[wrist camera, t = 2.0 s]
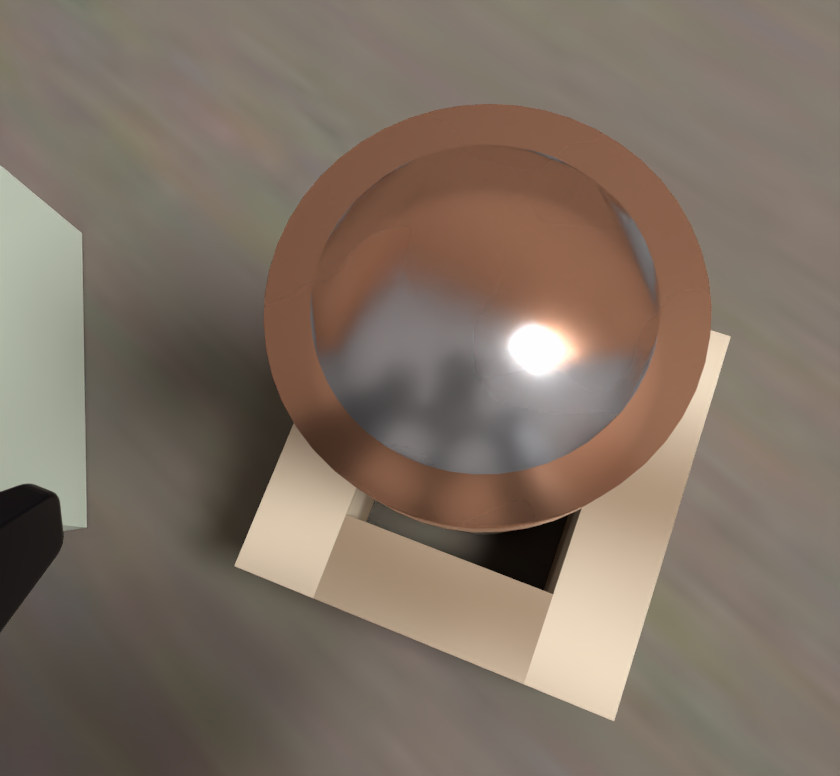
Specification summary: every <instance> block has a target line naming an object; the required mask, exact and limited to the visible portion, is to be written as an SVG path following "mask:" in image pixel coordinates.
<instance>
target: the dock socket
mask: <svg viewBox="0 0 840 776" xmlns="http://www.w3.org/2000/svg"><path fill="white" fill-rule="evenodd" d="M27 483H30V484H35V485H38V486H40V487H42V488H45V489H47V490H50V491H52V492H54V493H56V494H57V496H58V497H59V500H60V506H61V515H62V524H63V531H66V530H73V529H81V528H87V500H86V440H85V380H84V320H83V260H82V233H81V232H80V231H78V230H77V229H76V228H75V227H74V226H72V225H71V224H70V223H69V222H68V221H66V220H65V219H64V218H63V217H62V216H60V215H59V214H58V213H57V212H56V211H54V210H53V209H52V208H51V207H50V206H48V205H47V204H46V203H45V202H44V201H42V200H41V199H40V198H39V197H38V196H36V195H35V194H34V193H33V192H32V191H30V190H29V189H28V188H27V187H26V186H24V185H23V184H22V183H21V182H20V181H18V180H17V179H16V178H15V177H14V176H12V175H11V174H10V173H9V172H8V171H6V170H5V169H4V168H3V167H2V166H0V492H1V491H4V490H6V489H9V488H12V487H15V486H18V485H21V484H27Z"/></svg>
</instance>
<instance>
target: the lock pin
mask: <svg viewBox="0 0 840 776" xmlns="http://www.w3.org/2000/svg"><path fill="white" fill-rule="evenodd" d="M264 332H265V342H266V351H267V355H268V359H269V364H270V368H271V372H272V376H273V379H274V382H275V384H276V387H277V389H278V392H279V395H280V397H281V400H282V402H283V404H284V406H285V408H286V410H287V411H288V413H289V415H290V417H291V419H292V420H293V422H294V424H295V426H296V427H297V429H298V430H299V431H300V433H301V434H302V435H303V437H304V438H305V439H306V441H307V442H308V443H309V445H310V446H311V447H312V449H313V450H314V451H315V452H316V453H317V454H318V455H319V456H320V457H321V458H322V459H323V460H324V461H325V462H326V463H327V464H328V465H329V466H330V467H331V468H332V469H333V470H334V471H335V472H336V473H338V474H339V475H340V476H342V477H343V478H344V479H346V480H347V481H348V482H349V483H351V484H352V485H353V486H355V487H356V488H357V489H359V490H360V491H362V492H364V493H365V494H367V495H368V496H370V497H372V498H373V499H375V500H376V501H378V502H380V503H382V504H383V505H385V506H387V507H389V508H390V509H392V510H394V511H396V512H397V513H400V514H402V515H405V516H407V517H410V518H412V519H415V520H417V521H420V522H422V523H426V524H430V525H434V526H438V527H441V528H445V529H451V530H459V531H464V532H468V533H472V534H478V535H493V534H500V533H504V532H507V531H512V530H519V529H526V528H531V527H534V526H538V525H541V524H545V523H548V522H552V521H555V520H557V519H559V518H562V517H564V516H566V515H569V514H571V513H573V512H575V511H578V510H580V509H581V508H583V507H585V506H586V505H588V504H590V503H591V502H593V501H595V500H596V499H598V498H599V497H601V496H603V495H604V494H606V493H607V492H609V491H610V490H612V489H614V488H615V487H617V486H618V485H620V484H621V483H622V482H624V481H625V480H626V479H627V478H629V477H630V476H631V475H632V474H634V473H635V472H636V471H637V470H638V469H640V468H641V467H642V466H643V465H645V464H646V462H647V461H648V460H649V459H650V458H651V457H652V456H653V455H654V454H655V453H656V452H657V451H658V449H659V448H660V447H661V446H662V445H663V444H664V443H665V442H666V441H667V439H668V438H669V436H670V435H671V433H672V432H673V430H674V429H675V428H676V426H677V425H678V423H679V422H680V420H681V419H682V417H683V416H684V414H685V412H686V410H687V408H688V406H689V404H690V402H691V400H692V398H693V396H694V394H695V392H696V389H697V386H698V383H699V380H700V377H701V374H702V371H703V368H704V365H705V362H706V356H707V351H708V345H709V340H710V333H711V297H710V287H709V278H708V274H707V270H706V266H705V262H704V258H703V254H702V251H701V248H700V246H699V243H698V241H697V238H696V236H695V233H694V231H693V228H692V226H691V224H690V222H689V220H688V219H687V217H686V215H685V214H684V212H683V210H682V208H681V207H680V205H679V203H678V201H677V200H676V199H675V197H674V196H673V195H672V194H671V192H670V191H669V190H668V188H667V187H666V186H665V184H664V183H663V182H662V181H661V179H660V178H659V177H658V176H657V175H656V174H655V173H654V172H653V171H652V170H651V169H650V168H649V167H648V166H647V165H646V164H645V163H644V162H643V161H642V160H641V159H639V158H638V157H637V156H635V155H634V154H633V153H632V152H630V151H629V150H628V149H626V148H625V147H624V146H622V145H621V144H620V143H618V142H617V141H615V140H613V139H612V138H610V137H608V136H606V135H605V134H603V133H601V132H600V131H598V130H596V129H594V128H592V127H590V126H587V125H585V124H583V123H580V122H578V121H576V120H573V119H571V118H568V117H565V116H562V115H558V114H555V113H551V112H548V111H545V110H540V109H534V108H528V107H522V106H516V105H498V104H481V105H464V106H457V107H452V108H446V109H440V110H435V111H432V112H428V113H425V114H421V115H418V116H415V117H411V118H408V119H406V120H404V121H401V122H399V123H397V124H394V125H392V126H390V127H387V128H385V129H383V130H381V131H380V132H378V133H376V134H374V135H373V136H371V137H369V138H368V139H366V140H364V141H362V142H361V143H359V144H358V145H357V146H355V147H354V148H353V149H351V150H350V151H349V152H347V153H346V154H345V155H343V156H342V157H340V158H339V159H338V160H337V161H336V162H335V163H334V164H333V165H332V166H331V167H330V168H329V169H328V170H327V171H326V172H324V173H323V174H322V175H321V176H320V177H319V179H318V180H317V181H316V182H315V183H314V185H313V186H312V187H311V188H310V190H309V191H308V192H307V193H306V194H305V196H304V197H303V198H302V200H301V201H300V203H299V205H298V206H297V208H296V209H295V211H294V212H293V214H292V216H291V217H290V219H289V221H288V223H287V225H286V227H285V229H284V231H283V233H282V236H281V238H280V240H279V242H278V244H277V247H276V250H275V254H274V257H273V260H272V263H271V266H270V269H269V275H268V280H267V286H266V292H265V303H264Z"/></svg>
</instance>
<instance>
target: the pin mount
mask: <svg viewBox="0 0 840 776" xmlns="http://www.w3.org/2000/svg"><path fill="white" fill-rule="evenodd" d="M729 340H730V336H727V335H724V334H721V333H718V332H715V331H711V333H710V340H709V345H708V351H707V356H706V362H705V365H704V368H703V371H702V374H701V377H700V380H699V383H698V386H697V389H696V392H695V394H694V396H693V398H692V400H691V402H690V404H689V406H688V408H687V410H686V412H685V414H684V416H683V417H682V419H681V420H680V422H679V423H678V425H677V426H676V428H675V429H674V430H673V432H672V433H671V435H670V436H669V438H668V439H667V441H666V442H665V443H664V444H663V445H662V446H661V447H660V448H659V449H658V451H657V452H656V453H655V454H654V455H653V456H652V457H651V458H650V459H649V460H648V461H647V462H646V464H645V465H643V466H642V467H641V468H640V469H638V470H637V471H636V472H635V473H634V474H632V475H631V476H630V477H629V478H627V479H626V480H625V481H624V482H622V483H621V484H620V485H618V486H617V487H615V488H614V489H612V490H610V491H609V492H607V493H606V494H604V495H603V496H601V497H599V498H598V499H596V500H595V501H593V502H591V503H590V504H588V505H586V506H585V507H583V508H581V509H580V510H578V511H575V512H573V513H571V514H569V515H568V518H567V521H566V524H565V527H564V530H563V533H562V536H561V539H560V542H559V545H558V548H557V551H556V554H555V557H554V560H553V563H552V566H551V569H550V572H549V575H548V578H547V581H546V584H545V587H544V590H541V589H538V588H535V587H533V586H530V585H528V584H525V583H522V582H520V581H517V580H515V579H512V578H509V577H507V576H504V575H502V574H499V573H496V572H494V571H491V570H489V569H486V568H484V567H481V566H478V565H476V564H473V563H471V562H468V561H465V560H463V559H460V558H458V557H455V556H452V555H450V554H447V553H445V552H442V551H439V550H437V549H434V548H432V547H429V546H426V545H424V544H421V543H419V542H416V541H413V540H411V539H408V538H406V537H403V536H400V535H398V534H395V533H393V532H390V531H388V530H385V529H382V528H380V527H377V526H375V525H372V524H369V523H367V522H366V521H367V519H368V516H369V513H370V511H371V508H372V506H373V503H374V501H375V499H373V498H372V497H370V496H368V495H367V494H365V493H364V492H362V491H360V490H359V489H357V488H356V487H355V486H353V485H352V484H351V483H349V482H348V481H347V480H346V479H344V478H343V477H342V476H340V475H339V474H338V473H336V472H335V471H334V470H333V469H332V468H331V467H330V466H329V465H328V464H327V463H326V462H325V461H324V460H323V459H322V458H321V457H320V456H319V455H318V454H317V453H316V452H315V451H314V450H313V449H312V447H311V446H310V445H309V443H308V442H307V441H306V439H305V438H304V437H303V435H302V434H301V433H300V431H299V430H298V429H297V427H296V426H295V424H293V426H292V429H291V431H290V434H289V436H288V438H287V441H286V443H285V446H284V448H283V450H282V453H281V455H280V458H279V460H278V462H277V465H276V467H275V470H274V472H273V474H272V477H271V479H270V482H269V484H268V486H267V489H266V491H265V494H264V496H263V498H262V501H261V503H260V506H259V508H258V510H257V513H256V515H255V518H254V520H253V522H252V525H251V527H250V530H249V532H248V534H247V537H246V539H245V542H244V544H243V546H242V549H241V551H240V554H239V556H238V558H237V561H236V563H235V567H238V568H240V569H243V570H245V571H248V572H250V573H253V574H255V575H257V576H260V577H262V578H265V579H267V580H270V581H272V582H275V583H277V584H279V585H282V586H284V587H287V588H289V589H292V590H294V591H297V592H299V593H301V594H304V595H306V596H309V597H311V598H314V599H316V600H319V601H321V602H324V603H326V604H328V605H331V606H333V607H336V608H338V609H341V610H343V611H346V612H348V613H350V614H353V615H355V616H358V617H360V618H363V619H365V620H368V621H370V622H373V623H375V624H377V625H380V626H382V627H385V628H387V629H390V630H392V631H395V632H397V633H399V634H402V635H404V636H407V637H409V638H412V639H414V640H417V641H419V642H422V643H424V644H426V645H429V646H431V647H434V648H436V649H439V650H441V651H444V652H446V653H448V654H451V655H453V656H456V657H458V658H461V659H463V660H466V661H468V662H470V663H473V664H475V665H478V666H480V667H483V668H485V669H488V670H490V671H493V672H495V673H497V674H500V675H502V676H505V677H507V678H510V679H512V680H515V681H517V682H519V683H522V684H524V685H527V686H529V687H532V688H534V689H537V690H539V691H542V692H544V693H546V694H549V695H551V696H554V697H556V698H559V699H561V700H564V701H566V702H568V703H571V704H573V705H576V706H578V707H581V708H583V709H586V710H588V711H590V712H593V713H595V714H598V715H600V716H603V717H605V718H608V719H610V720H613V721H614V719H615V716H616V713H617V710H618V706H619V703H620V700H621V696H622V693H623V690H624V686H625V683H626V680H627V677H628V673H629V670H630V667H631V663H632V660H633V657H634V654H635V650H636V647H637V644H638V640H639V637H640V634H641V630H642V627H643V624H644V621H645V617H646V614H647V611H648V607H649V604H650V601H651V598H652V594H653V591H654V588H655V584H656V581H657V578H658V574H659V571H660V568H661V565H662V561H663V558H664V555H665V551H666V548H667V545H668V541H669V538H670V535H671V532H672V528H673V525H674V522H675V518H676V515H677V512H678V509H679V505H680V502H681V499H682V495H683V492H684V489H685V485H686V482H687V479H688V476H689V472H690V469H691V466H692V462H693V459H694V456H695V453H696V449H697V446H698V443H699V439H700V436H701V433H702V429H703V426H704V423H705V420H706V416H707V413H708V410H709V406H710V403H711V400H712V396H713V393H714V390H715V387H716V383H717V380H718V377H719V373H720V370H721V367H722V364H723V360H724V357H725V354H726V350H727V347H728V344H729Z"/></svg>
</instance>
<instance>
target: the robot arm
mask: <svg viewBox="0 0 840 776" xmlns="http://www.w3.org/2000/svg"><path fill="white" fill-rule="evenodd" d="M63 538H64V533H63V524H62V515H61V506H60V500H59V497H58V496H57V494H56V493H54V492H52V491H50V490H47V489H45V488H42V487H40V486H38V485H35V484H30V483H27V484H21V485H18V486H15V487H12V488H9V489H6V490H4V491H1V492H0V632H1V631H2V629H3V628H4V627H5V625H6V624H7V623H8V621H9V620H10V619H11V617H12V616H13V614H14V613H15V612H16V610H17V609H18V608H19V606H20V605H21V604H22V602H23V601H24V599H25V598H26V597H27V595H28V594H29V593H30V591H31V590H32V589H33V587H34V586H35V585H36V583H37V582H38V580H39V579H40V578H41V576H42V575H43V574H44V572H45V571H46V570H47V568H48V567H49V566H50V564H51V563H52V561H53V560H54V559H55V557H56V556H57V554H58V553H59V551H60V549H61V546H62V544H63Z"/></svg>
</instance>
